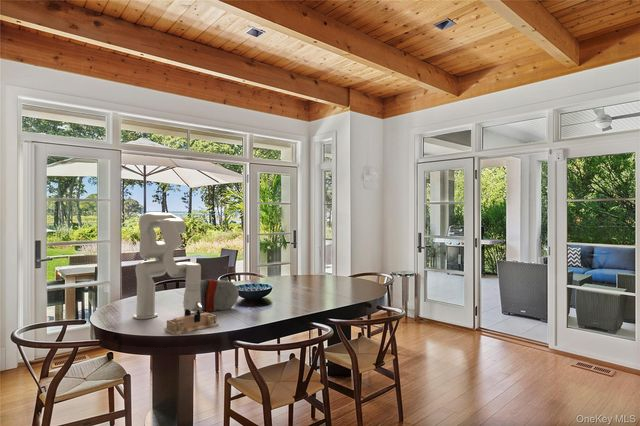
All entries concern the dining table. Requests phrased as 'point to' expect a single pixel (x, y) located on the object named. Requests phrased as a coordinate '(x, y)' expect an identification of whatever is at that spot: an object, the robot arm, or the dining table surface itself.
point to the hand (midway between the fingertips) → (192, 320)
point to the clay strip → (192, 320)
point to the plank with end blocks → (179, 327)
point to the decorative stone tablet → (217, 295)
